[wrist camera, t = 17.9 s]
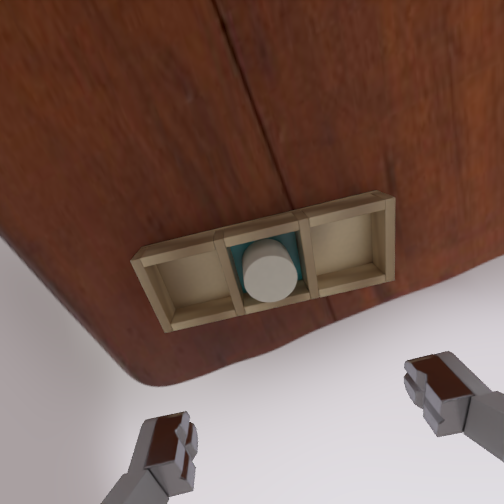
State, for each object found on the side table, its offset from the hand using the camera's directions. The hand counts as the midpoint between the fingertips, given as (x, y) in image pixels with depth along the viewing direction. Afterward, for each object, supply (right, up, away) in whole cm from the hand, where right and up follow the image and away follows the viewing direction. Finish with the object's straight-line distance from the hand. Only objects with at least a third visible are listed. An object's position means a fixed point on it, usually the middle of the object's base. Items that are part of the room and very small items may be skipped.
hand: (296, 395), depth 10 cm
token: (-1, +5, +10) cm, 11 cm away
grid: (-1, +5, +11) cm, 12 cm away
